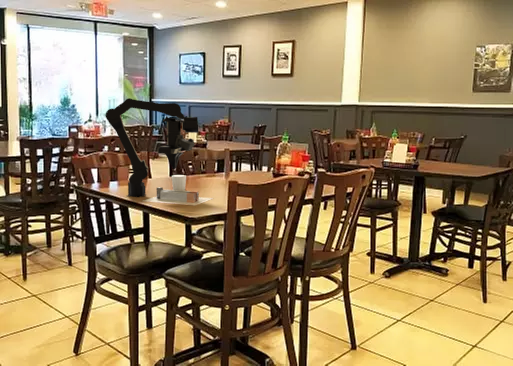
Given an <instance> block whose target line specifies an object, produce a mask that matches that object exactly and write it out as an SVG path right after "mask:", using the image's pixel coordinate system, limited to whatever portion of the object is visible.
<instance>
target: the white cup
mask: <svg viewBox="0 0 513 366" xmlns="http://www.w3.org/2000/svg"><path fill="white" fill-rule="evenodd" d="M186 182H187V175H186V174H185V175H184V174H174V175H171V185H172V190H179V191H186V186H187V185H186V184H187V183H186Z"/></svg>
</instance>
